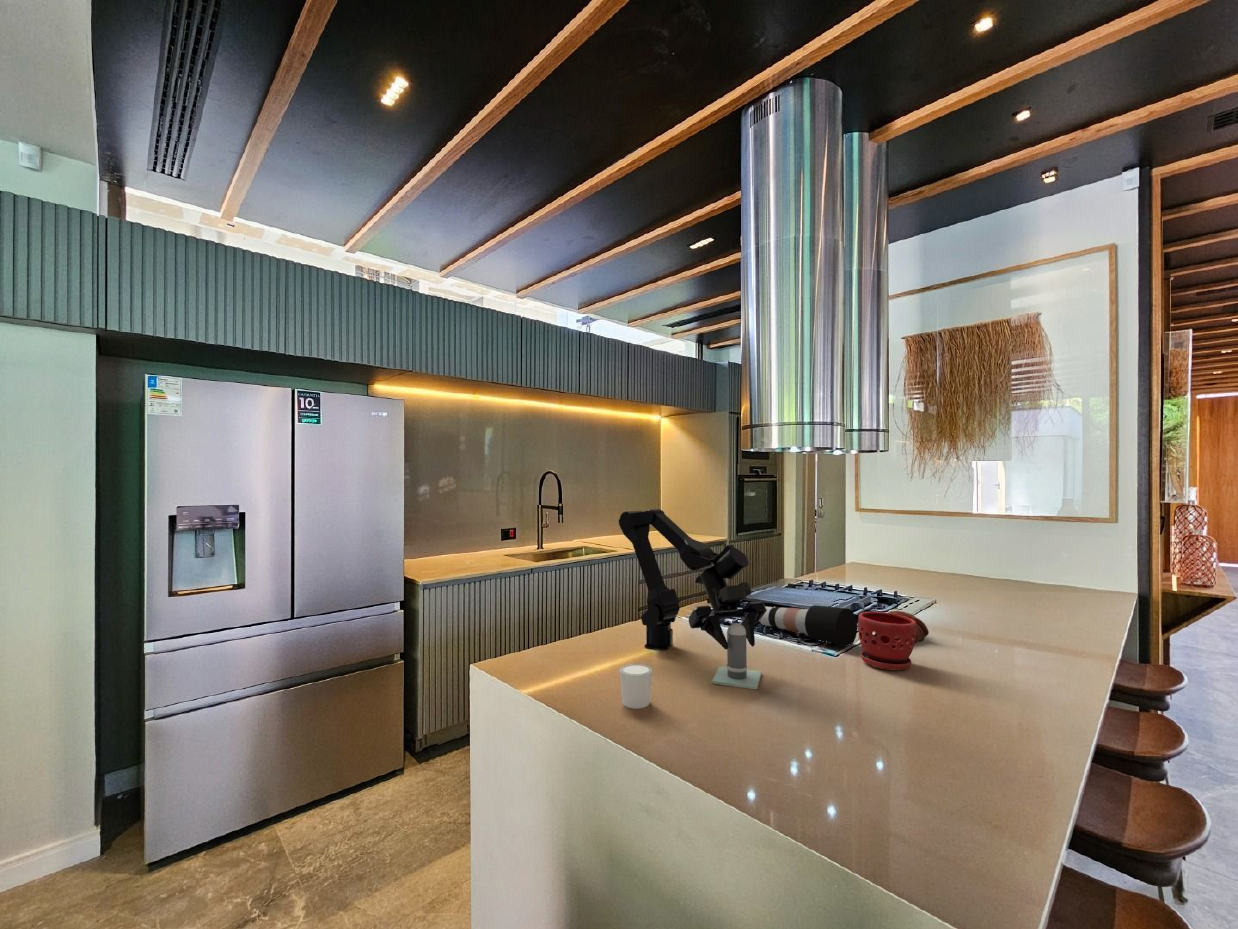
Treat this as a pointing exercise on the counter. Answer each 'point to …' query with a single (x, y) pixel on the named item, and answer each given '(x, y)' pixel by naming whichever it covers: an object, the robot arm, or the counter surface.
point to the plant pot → (886, 639)
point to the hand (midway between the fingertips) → (740, 647)
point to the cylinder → (736, 652)
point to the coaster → (748, 682)
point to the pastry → (920, 626)
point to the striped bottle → (815, 622)
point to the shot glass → (635, 685)
